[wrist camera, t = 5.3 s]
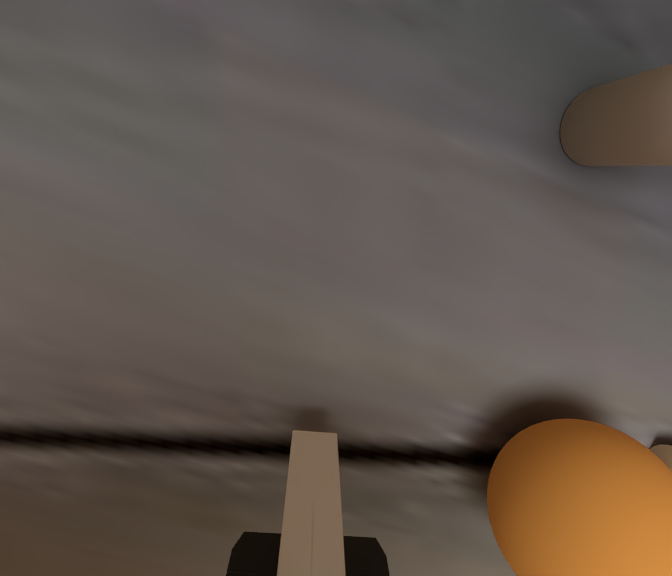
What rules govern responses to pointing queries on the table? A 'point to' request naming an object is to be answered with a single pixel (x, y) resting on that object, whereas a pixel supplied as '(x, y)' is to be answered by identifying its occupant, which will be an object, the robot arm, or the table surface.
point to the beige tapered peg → (622, 122)
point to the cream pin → (663, 453)
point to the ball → (581, 502)
